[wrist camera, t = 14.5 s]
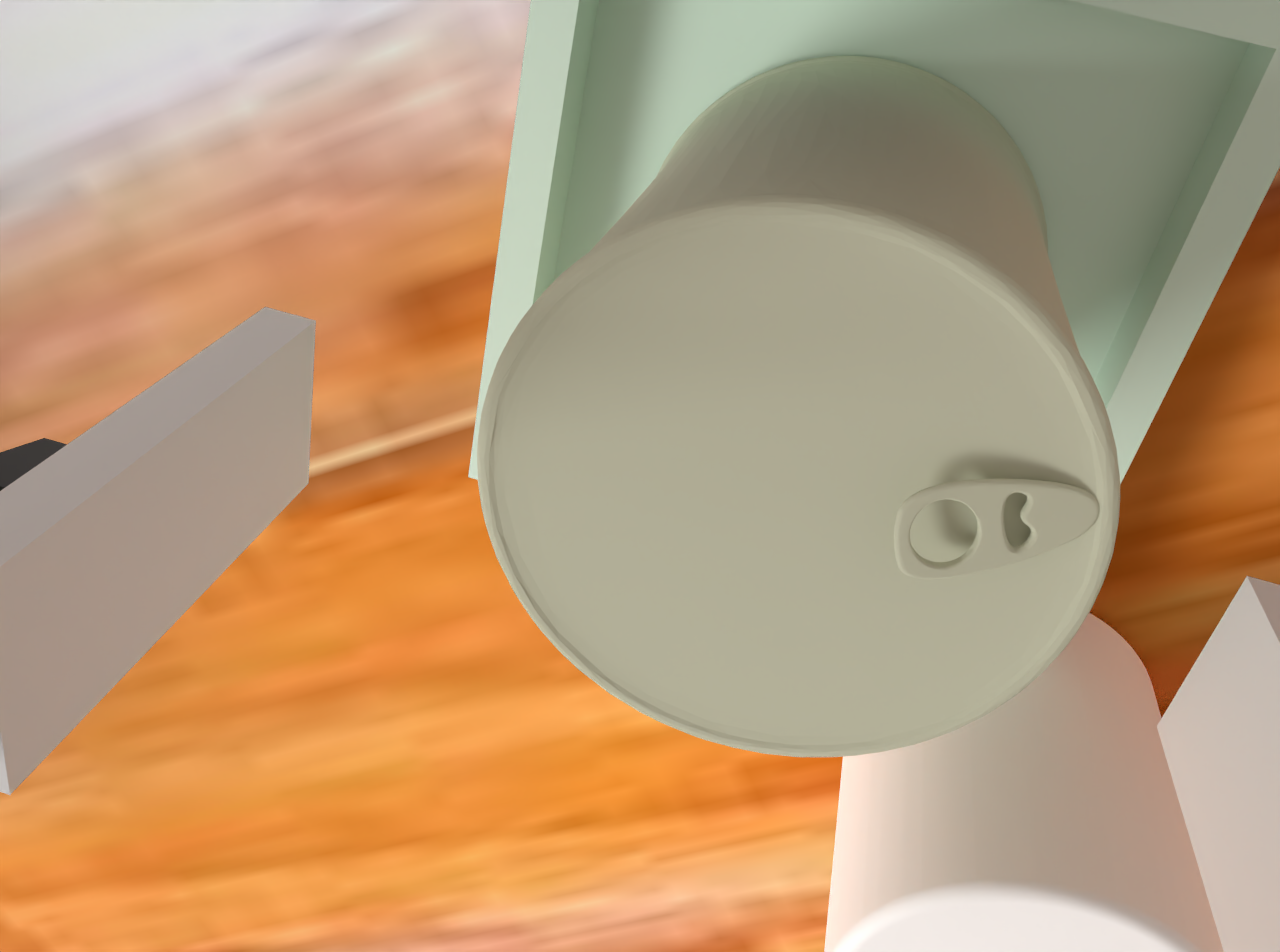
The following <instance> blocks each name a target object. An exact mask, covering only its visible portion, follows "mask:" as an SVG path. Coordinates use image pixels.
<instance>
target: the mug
mask: <svg viewBox="0 0 1280 952" xmlns="http://www.w3.org/2000/svg"><path fill="white" fill-rule="evenodd" d="M1160 720H1161V715H1160V711H1159V707H1158V704H1157V700H1156V696H1155V693H1154V689H1153V686H1152V683H1151V680H1150V677H1149V675H1148V672H1147V670H1146V668H1145V666H1144V665H1143V663H1142V661H1141V660H1140V658H1139V656H1138V655H1137V654H1136V652H1135V651H1134V650H1133V648H1132V647H1131V646H1130V645H1129V644H1128V643H1127V642H1126V640H1125V639H1124V638H1123V637H1122V636H1121V635H1119V634H1118V633H1117V632H1116V631H1115V630H1114V629H1113V628H1111V627H1110V626H1109V625H1107V624H1106V623H1105V622H1103V621H1102V620H1100V619H1099V618H1097V617H1095V616H1094V615H1092V614H1091V613H1089V614H1088V615H1087V617H1086V618H1085V620H1084V622H1083V623H1082V625H1081V627H1080V628H1079V630H1078V632H1077V633H1076V635H1075V636H1074V637H1073V639H1072V640H1071V641H1070V643H1069V644H1068V645H1067V646H1066V648H1065V649H1064V650H1063V651H1062V652H1061V653H1060V655H1059V656H1058V657H1057V658H1056V659H1055V660H1054V661H1053V662H1052V663H1051V664H1050V665H1049V666H1048V668H1047V669H1046V670H1045V671H1044V672H1043V673H1042V674H1041V675H1039V676H1038V677H1037V678H1036V679H1035V680H1034V681H1033V682H1031V683H1030V684H1029V685H1028V686H1027V687H1026V688H1025V689H1023V690H1022V691H1021V692H1020V693H1018V694H1017V695H1016V696H1014V697H1013V698H1011V699H1010V700H1008V701H1007V702H1005V703H1004V704H1002V705H1001V706H999V707H998V708H996V709H995V710H993V711H991V712H990V713H988V714H987V715H985V716H983V717H981V718H979V719H977V720H975V721H973V722H971V723H969V724H967V725H965V726H963V727H961V728H959V729H957V730H954V731H952V732H949V733H947V734H944V735H941V736H939V737H936V738H933V739H930V740H927V741H924V742H921V743H918V744H915V745H911V746H906V747H902V748H897V749H893V750H888V751H884V752H878V753H871V754H864V755H857V756H843V763H842V773H841V784H840V794H839V805H838V815H837V825H836V836H835V846H834V857H833V867H832V877H831V888H830V898H829V909H828V919H827V929H826V940H825V950H824V952H1224V951H1223V948H1222V944H1221V941H1220V937H1219V934H1218V931H1217V927H1216V924H1215V921H1214V917H1213V914H1212V911H1211V907H1210V904H1209V901H1208V897H1207V894H1206V890H1205V887H1204V884H1203V880H1202V877H1201V874H1200V870H1199V867H1198V864H1197V860H1196V857H1195V853H1194V850H1193V847H1192V843H1191V840H1190V837H1189V833H1188V830H1187V827H1186V823H1185V820H1184V817H1183V813H1182V810H1181V806H1180V803H1179V800H1178V796H1177V793H1176V790H1175V786H1174V783H1173V780H1172V776H1171V773H1170V769H1169V766H1168V763H1167V759H1166V756H1165V753H1164V749H1163V746H1162V743H1161V739H1160V736H1159V733H1158V729H1157V725H1158V723H1159V722H1160Z"/></svg>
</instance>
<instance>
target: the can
mask: <svg viewBox="0 0 1280 952" xmlns="http://www.w3.org/2000/svg"><path fill="white" fill-rule="evenodd" d="M477 469H478V485H479V493H480V500H481V507H482V511H483V515H484V520H485V523H486V527H487V530H488V534H489V537H490V540H491V542H492V545H493V548H494V551H495V554H496V557H497V559H498V561H499V563H500V565H501V567H502V569H503V571H504V573H505V575H506V577H507V579H508V581H509V583H510V585H511V587H512V589H513V591H514V593H515V594H516V596H517V597H518V599H519V600H520V602H521V603H522V605H523V606H524V608H525V609H526V611H527V612H528V614H529V615H530V617H531V618H532V620H533V621H534V622H535V624H536V625H537V626H538V627H539V629H540V630H541V631H542V632H543V633H544V635H545V636H546V637H547V638H548V639H549V640H550V641H551V643H552V644H553V645H554V646H555V647H556V648H557V649H558V650H559V651H560V652H561V653H562V654H563V655H564V656H565V657H566V658H567V659H568V660H569V661H570V662H571V663H572V664H573V665H575V666H576V667H577V668H578V669H579V670H580V671H581V672H583V673H584V674H585V675H587V676H588V677H589V678H590V679H592V680H593V681H594V682H596V683H597V684H598V685H599V686H601V687H602V688H603V689H605V690H606V691H607V692H608V693H610V694H611V695H613V696H615V697H616V698H618V699H620V700H621V701H623V702H624V703H626V704H628V705H629V706H631V707H633V708H634V709H636V710H638V711H639V712H641V713H643V714H645V715H647V716H649V717H651V718H653V719H655V720H657V721H659V722H661V723H663V724H666V725H668V726H671V727H673V728H675V729H678V730H680V731H683V732H685V733H687V734H690V735H693V736H696V737H698V738H701V739H704V740H708V741H711V742H715V743H719V744H722V745H726V746H730V747H734V748H738V749H743V750H749V751H754V752H759V753H764V754H773V755H783V756H792V757H843V756H857V755H864V754H871V753H878V752H884V751H888V750H893V749H897V748H902V747H906V746H911V745H915V744H918V743H921V742H924V741H927V740H930V739H933V738H936V737H939V736H941V735H944V734H947V733H949V732H952V731H954V730H957V729H959V728H961V727H963V726H965V725H967V724H969V723H971V722H973V721H975V720H977V719H979V718H981V717H983V716H985V715H987V714H988V713H990V712H991V711H993V710H995V709H996V708H998V707H999V706H1001V705H1002V704H1004V703H1005V702H1007V701H1008V700H1010V699H1011V698H1013V697H1014V696H1016V695H1017V694H1018V693H1020V692H1021V691H1022V690H1023V689H1025V688H1026V687H1027V686H1028V685H1029V684H1030V683H1031V682H1033V681H1034V680H1035V679H1036V678H1037V677H1038V676H1039V675H1041V674H1042V673H1043V672H1044V671H1045V670H1046V669H1047V668H1048V666H1049V665H1050V664H1051V663H1052V662H1053V661H1054V660H1055V659H1056V658H1057V657H1058V656H1059V655H1060V653H1061V652H1062V651H1063V650H1064V649H1065V648H1066V646H1067V645H1068V644H1069V643H1070V641H1071V640H1072V639H1073V637H1074V636H1075V635H1076V633H1077V632H1078V630H1079V628H1080V627H1081V625H1082V623H1083V622H1084V620H1085V618H1086V617H1087V615H1088V614H1089V612H1090V610H1091V609H1092V607H1093V605H1094V602H1095V600H1096V598H1097V596H1098V594H1099V591H1100V589H1101V587H1102V585H1103V582H1104V579H1105V576H1106V573H1107V570H1108V567H1109V564H1110V561H1111V558H1112V555H1113V551H1114V546H1115V540H1116V534H1117V528H1118V523H1119V509H1120V474H1119V467H1118V459H1117V449H1116V445H1115V440H1114V436H1113V432H1112V428H1111V424H1110V420H1109V417H1108V414H1107V411H1106V408H1105V405H1104V402H1103V400H1102V397H1101V395H1100V393H1099V391H1098V389H1097V386H1096V384H1095V382H1094V380H1093V378H1092V376H1091V374H1090V372H1089V370H1088V368H1087V366H1086V364H1085V362H1084V360H1083V359H1082V357H1081V356H1080V353H1079V350H1078V347H1077V344H1076V341H1075V338H1074V335H1073V333H1072V330H1071V327H1070V324H1069V321H1068V318H1067V315H1066V312H1065V309H1064V306H1063V303H1062V300H1061V297H1060V294H1059V290H1058V287H1057V284H1056V280H1055V277H1054V274H1053V270H1052V267H1051V263H1050V260H1049V257H1048V239H1047V225H1046V220H1045V214H1044V209H1043V204H1042V201H1041V197H1040V194H1039V190H1038V187H1037V185H1036V182H1035V179H1034V177H1033V174H1032V172H1031V170H1030V168H1029V166H1028V164H1027V162H1026V160H1025V159H1024V157H1023V155H1022V153H1021V151H1020V149H1019V148H1018V146H1017V145H1016V144H1015V142H1014V141H1013V139H1012V138H1011V137H1010V135H1009V134H1008V132H1007V131H1006V130H1005V128H1004V127H1003V126H1002V125H1001V124H1000V123H999V122H998V121H997V119H996V118H995V117H994V116H993V115H992V114H991V113H989V112H988V111H987V110H986V109H985V108H984V107H983V106H982V105H981V104H980V103H978V102H977V101H976V100H974V99H973V98H972V97H971V96H969V95H968V94H967V93H965V92H964V91H962V90H961V89H959V88H958V87H956V86H955V85H953V84H951V83H950V82H948V81H946V80H944V79H942V78H940V77H938V76H936V75H933V74H931V73H929V72H926V71H924V70H922V69H919V68H916V67H913V66H910V65H907V64H904V63H900V62H896V61H892V60H887V59H882V58H874V57H866V56H828V57H820V58H812V59H807V60H802V61H797V62H793V63H790V64H786V65H783V66H780V67H777V68H774V69H771V70H769V71H766V72H764V73H762V74H759V75H757V76H755V77H753V78H751V79H749V80H747V81H745V82H744V83H742V84H740V85H738V86H737V87H735V88H733V89H732V90H730V91H729V92H727V93H726V94H724V95H723V96H722V97H720V98H719V99H718V100H716V101H715V102H714V103H713V104H711V105H710V106H709V107H708V108H707V109H706V110H704V111H703V112H702V113H701V114H700V115H699V116H698V117H697V118H696V119H695V120H694V121H693V122H692V123H691V124H690V126H689V127H688V128H687V129H686V130H685V132H684V133H683V134H682V135H681V137H680V138H679V139H678V140H677V142H676V143H675V145H674V146H673V148H672V149H671V151H670V152H669V154H668V156H667V157H666V159H665V160H664V162H663V164H662V166H661V168H660V170H659V172H658V174H657V176H656V178H655V179H654V180H653V181H652V183H651V184H650V185H649V186H648V187H647V188H646V190H645V191H644V192H643V193H642V194H641V195H640V196H639V197H638V199H637V200H636V201H635V202H634V203H633V204H632V205H631V207H630V208H629V209H628V210H627V211H626V212H625V213H624V215H623V216H622V217H621V218H620V219H619V220H618V221H617V222H616V223H615V224H614V226H613V227H612V228H611V229H610V230H609V231H608V232H607V233H606V234H605V235H604V236H603V237H602V239H601V240H600V241H599V242H598V243H597V244H596V245H595V246H594V247H593V248H592V249H591V250H590V252H589V253H587V254H586V255H584V256H583V257H581V258H580V259H579V260H578V261H576V262H575V263H574V264H573V265H571V266H570V267H569V268H568V269H567V270H565V271H564V272H563V273H562V274H561V275H560V276H559V277H558V278H557V279H556V280H555V281H554V282H553V283H552V284H551V285H550V286H549V287H548V288H547V289H546V290H545V291H544V292H543V293H542V294H541V296H540V297H539V298H538V299H537V300H536V301H535V303H534V304H533V305H532V306H531V308H530V309H529V310H528V312H527V313H526V314H525V315H524V317H523V318H522V319H521V320H520V322H519V324H518V325H517V327H516V328H515V330H514V332H513V333H512V335H511V336H510V338H509V340H508V342H507V344H506V346H505V347H504V349H503V351H502V353H501V355H500V357H499V359H498V362H497V364H496V367H495V369H494V372H493V375H492V378H491V381H490V384H489V386H488V390H487V394H486V398H485V401H484V405H483V409H482V413H481V420H480V428H479V435H478V446H477Z"/></svg>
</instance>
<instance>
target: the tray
mask: <svg viewBox="0 0 1280 952" xmlns="http://www.w3.org/2000/svg"><path fill="white" fill-rule="evenodd" d="M828 56H866V57H874V58H882V59H887V60H892V61H896V62H900V63H904V64H907V65H910V66H913V67H916V68H919V69H922V70H924V71H926V72H929V73H931V74H933V75H936V76H938V77H940V78H942V79H944V80H946V81H948V82H950V83H951V84H953V85H955V86H956V87H958V88H959V89H961V90H962V91H964V92H965V93H967V94H968V95H969V96H971V97H972V98H973V99H974V100H976V101H977V102H978V103H980V104H981V105H982V106H983V107H984V108H985V109H986V110H987V111H988V112H989V113H991V114H992V115H993V116H994V117H995V118H996V119H997V121H998V122H999V123H1000V124H1001V125H1002V126H1003V127H1004V128H1005V130H1006V131H1007V132H1008V134H1009V135H1010V137H1011V138H1012V139H1013V141H1014V142H1015V144H1016V145H1017V146H1018V148H1019V149H1020V151H1021V153H1022V155H1023V157H1024V159H1025V160H1026V162H1027V164H1028V166H1029V168H1030V170H1031V172H1032V174H1033V177H1034V179H1035V182H1036V185H1037V187H1038V190H1039V194H1040V197H1041V201H1042V204H1043V209H1044V214H1045V220H1046V225H1047V239H1048V257H1049V260H1050V263H1051V267H1052V270H1053V274H1054V277H1055V280H1056V284H1057V287H1058V290H1059V294H1060V297H1061V300H1062V303H1063V306H1064V309H1065V312H1066V315H1067V318H1068V321H1069V324H1070V327H1071V330H1072V333H1073V335H1074V338H1075V341H1076V344H1077V347H1078V350H1079V353H1080V356H1081V357H1082V359H1083V360H1084V362H1085V364H1086V366H1087V368H1088V370H1089V372H1090V374H1091V376H1092V378H1093V380H1094V382H1095V384H1096V386H1097V389H1098V391H1099V393H1100V395H1101V397H1102V400H1103V402H1104V405H1105V408H1106V411H1107V414H1108V417H1109V420H1110V424H1111V428H1112V432H1113V436H1114V440H1115V445H1116V449H1117V459H1118V467H1119V474H1120V484H1121V482H1122V480H1123V478H1124V476H1125V474H1126V472H1127V470H1128V468H1129V466H1130V464H1131V462H1132V460H1133V458H1134V456H1135V454H1136V452H1137V450H1138V448H1139V446H1140V444H1141V442H1142V440H1143V438H1144V437H1145V435H1146V433H1147V431H1148V429H1149V427H1150V425H1151V423H1152V421H1153V419H1154V417H1155V415H1156V413H1157V411H1158V409H1159V407H1160V405H1161V403H1162V401H1163V399H1164V397H1165V395H1166V393H1167V391H1168V389H1169V387H1170V385H1171V383H1172V381H1173V379H1174V377H1175V375H1176V373H1177V371H1178V369H1179V367H1180V365H1181V363H1182V361H1183V359H1184V357H1185V355H1186V353H1187V351H1188V349H1189V347H1190V345H1191V343H1192V341H1193V339H1194V337H1195V335H1196V333H1197V331H1198V329H1199V327H1200V325H1201V323H1202V321H1203V319H1204V317H1205V315H1206V313H1207V311H1208V309H1209V307H1210V305H1211V303H1212V301H1213V299H1214V297H1215V295H1216V293H1217V291H1218V289H1219V287H1220V285H1221V283H1222V281H1223V279H1224V277H1225V275H1226V273H1227V271H1228V269H1229V267H1230V265H1231V263H1232V261H1233V259H1234V257H1235V255H1236V253H1237V251H1238V249H1239V247H1240V245H1241V243H1242V241H1243V239H1244V237H1245V235H1246V233H1247V231H1248V229H1249V227H1250V225H1251V223H1252V221H1253V219H1254V217H1255V215H1256V213H1257V211H1258V209H1259V207H1260V205H1261V203H1262V201H1263V199H1264V197H1265V195H1266V193H1267V191H1268V189H1269V187H1270V185H1271V183H1272V181H1273V179H1274V177H1275V175H1276V173H1277V171H1278V169H1279V167H1280V0H531V4H530V11H529V19H528V26H527V34H526V42H525V49H524V57H523V64H522V72H521V80H520V87H519V95H518V103H517V110H516V118H515V125H514V133H513V141H512V148H511V156H510V163H509V171H508V179H507V186H506V194H505V201H504V209H503V217H502V224H501V232H500V239H499V247H498V255H497V262H496V270H495V277H494V285H493V293H492V300H491V308H490V316H489V323H488V331H487V338H486V346H485V354H484V361H483V369H482V376H481V384H480V392H479V399H478V407H477V414H476V422H475V430H474V437H473V445H472V452H471V460H470V468H469V475H468V477H470V478H474V479H477V480H478V469H477V446H478V435H479V428H480V420H481V413H482V409H483V405H484V401H485V398H486V394H487V390H488V386H489V384H490V381H491V378H492V375H493V372H494V369H495V367H496V364H497V362H498V359H499V357H500V355H501V353H502V351H503V349H504V347H505V346H506V344H507V342H508V340H509V338H510V336H511V335H512V333H513V332H514V330H515V328H516V327H517V325H518V324H519V322H520V320H521V319H522V318H523V317H524V315H525V314H526V313H527V312H528V310H529V309H530V308H531V306H532V305H533V304H534V303H535V301H536V300H537V299H538V298H539V297H540V296H541V294H542V293H543V292H544V291H545V290H546V289H547V288H548V287H549V286H550V285H551V284H552V283H553V282H554V281H555V280H556V279H557V278H558V277H559V276H560V275H561V274H562V273H563V272H564V271H565V270H567V269H568V268H569V267H570V266H571V265H573V264H574V263H575V262H576V261H578V260H579V259H580V258H581V257H583V256H584V255H586V254H587V253H589V252H590V250H591V249H592V248H593V247H594V246H595V245H596V244H597V243H598V242H599V241H600V240H601V239H602V237H603V236H604V235H605V234H606V233H607V232H608V231H609V230H610V229H611V228H612V227H613V226H614V224H615V223H616V222H617V221H618V220H619V219H620V218H621V217H622V216H623V215H624V213H625V212H626V211H627V210H628V209H629V208H630V207H631V205H632V204H633V203H634V202H635V201H636V200H637V199H638V197H639V196H640V195H641V194H642V193H643V192H644V191H645V190H646V188H647V187H648V186H649V185H650V184H651V183H652V181H653V180H654V179H655V178H656V176H657V174H658V172H659V170H660V168H661V166H662V164H663V162H664V160H665V159H666V157H667V156H668V154H669V152H670V151H671V149H672V148H673V146H674V145H675V143H676V142H677V140H678V139H679V138H680V137H681V135H682V134H683V133H684V132H685V130H686V129H687V128H688V127H689V126H690V124H691V123H692V122H693V121H694V120H695V119H696V118H697V117H698V116H699V115H700V114H701V113H702V112H703V111H704V110H706V109H707V108H708V107H709V106H710V105H711V104H713V103H714V102H715V101H716V100H718V99H719V98H720V97H722V96H723V95H724V94H726V93H727V92H729V91H730V90H732V89H733V88H735V87H737V86H738V85H740V84H742V83H744V82H745V81H747V80H749V79H751V78H753V77H755V76H757V75H759V74H762V73H764V72H766V71H769V70H771V69H774V68H777V67H780V66H783V65H786V64H790V63H793V62H797V61H802V60H807V59H812V58H820V57H828Z"/></svg>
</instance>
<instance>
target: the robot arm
mask: <svg viewBox="0 0 1280 952" xmlns="http://www.w3.org/2000/svg"><path fill="white" fill-rule="evenodd" d="M315 326H316V321H315V320H311V319H308V318H304V317H300V316H297V315H293V314H289V313H286V312H282V311H278V310H275V309H271V308H268V307H264V308H263V309H261V310H260V311H259V312H257V313H256V314H254V315H253V316H251V317H250V318H248V319H247V320H246V321H244V322H243V323H241V324H240V325H238V326H237V327H236V328H234V329H233V330H231V331H230V332H228V333H227V334H225V335H224V336H223V337H221V338H220V339H218V340H217V341H215V342H214V343H213V344H211V345H210V346H208V347H207V348H205V349H204V350H202V351H201V352H200V353H198V354H197V355H195V356H194V357H192V358H191V359H190V360H188V361H187V362H185V363H184V364H182V365H181V366H179V367H178V368H177V369H175V370H174V371H172V372H171V373H169V374H168V375H167V376H165V377H164V378H162V379H161V380H159V381H158V382H156V383H155V384H154V385H152V386H151V387H149V388H148V389H146V390H145V391H143V392H142V393H141V394H139V395H138V396H136V397H135V398H133V399H132V400H131V401H129V402H128V403H126V404H125V405H123V406H122V407H120V408H119V409H118V410H116V411H115V412H113V413H112V414H110V415H109V416H108V417H106V418H105V419H103V420H102V421H100V422H99V423H97V424H96V425H95V426H93V427H92V428H90V429H89V430H87V431H86V432H85V433H83V434H82V435H80V436H79V437H77V438H76V439H74V440H73V441H72V442H70V443H69V444H63V443H60V442H56V441H53V440H49V439H46V438H43V439H40V440H37V441H34V442H31V443H28V444H25V445H22V446H19V447H16V448H13V449H10V450H7V451H4V452H1V453H0V792H3V793H6V794H9V795H10V794H11V793H12V792H13V791H14V790H15V789H16V788H17V787H18V786H19V785H20V784H21V783H22V782H23V781H24V780H25V779H26V778H27V777H28V776H29V775H30V774H31V772H32V771H33V770H34V769H35V768H36V767H37V766H38V765H39V764H40V763H41V762H42V761H43V760H44V759H45V758H46V757H47V756H48V755H49V754H50V753H51V752H52V751H53V750H54V748H55V747H56V746H57V745H58V744H59V743H60V742H61V741H62V740H63V739H64V738H65V737H66V736H67V735H68V734H69V733H70V732H71V731H72V730H73V729H74V728H75V727H76V725H77V724H78V723H79V722H80V721H81V720H82V719H83V718H84V717H85V716H86V715H87V714H88V713H89V712H90V711H91V710H92V709H93V708H94V707H95V706H96V705H97V704H98V703H99V701H100V700H101V699H102V698H103V697H104V696H105V695H106V694H107V693H108V692H109V691H110V690H111V689H112V688H113V687H114V686H115V685H116V684H117V683H118V682H119V681H120V680H121V679H122V677H123V676H124V675H125V674H126V673H127V672H128V671H129V670H130V669H131V668H132V667H133V666H134V665H135V664H136V663H137V662H138V661H139V660H140V659H141V658H142V657H143V656H144V654H145V653H146V652H147V651H148V650H149V649H150V648H151V647H152V646H153V645H154V644H155V643H156V642H157V641H158V640H159V639H160V638H161V637H162V636H163V635H164V634H165V633H166V632H167V630H168V629H169V628H170V627H171V626H172V625H173V624H174V623H175V622H176V621H177V620H178V619H179V618H180V617H181V616H182V615H183V614H184V613H185V612H186V611H187V610H188V609H189V608H190V606H191V605H192V604H193V603H194V602H195V601H196V600H197V599H198V598H199V597H200V596H201V595H202V594H203V593H204V592H205V591H206V590H207V589H208V588H209V587H210V586H211V585H212V583H213V582H214V581H215V580H216V579H217V578H218V577H219V576H220V575H221V574H222V573H223V572H224V571H225V570H226V569H227V568H228V567H229V566H230V565H231V564H232V563H233V562H234V561H235V559H236V558H237V557H238V556H239V555H240V554H241V553H242V552H243V551H244V550H245V549H246V548H247V547H248V546H249V545H250V544H251V543H252V542H253V541H254V540H255V539H256V538H257V537H258V535H259V534H260V533H261V532H262V531H263V530H264V529H265V528H266V527H267V526H268V525H269V524H270V523H271V522H272V521H273V520H274V519H275V518H276V517H277V516H278V515H279V514H280V512H281V511H282V510H283V509H284V508H285V507H286V506H287V505H288V504H289V503H290V502H291V501H292V500H293V499H294V498H295V497H296V496H297V495H298V494H299V493H300V492H301V491H302V490H303V488H304V487H305V486H306V485H307V484H308V482H309V460H310V437H311V415H312V393H313V371H314V349H315ZM1157 729H1158V733H1159V736H1160V739H1161V743H1162V746H1163V749H1164V753H1165V756H1166V759H1167V763H1168V766H1169V769H1170V773H1171V776H1172V780H1173V783H1174V786H1175V790H1176V793H1177V796H1178V800H1179V803H1180V806H1181V810H1182V813H1183V817H1184V820H1185V823H1186V827H1187V830H1188V833H1189V837H1190V840H1191V843H1192V847H1193V850H1194V853H1195V857H1196V860H1197V864H1198V867H1199V870H1200V874H1201V877H1202V880H1203V884H1204V887H1205V890H1206V894H1207V897H1208V901H1209V904H1210V907H1211V911H1212V914H1213V917H1214V921H1215V924H1216V927H1217V931H1218V934H1219V937H1220V941H1221V944H1222V948H1223V951H1224V952H1280V585H1278V584H1275V583H1271V582H1267V581H1264V580H1260V579H1256V578H1253V577H1249V576H1247V577H1246V578H1245V580H1244V582H1243V583H1242V585H1241V587H1240V588H1239V590H1238V592H1237V593H1236V595H1235V597H1234V598H1233V600H1232V602H1231V603H1230V605H1229V607H1228V608H1227V610H1226V612H1225V613H1224V615H1223V617H1222V618H1221V620H1220V622H1219V623H1218V625H1217V627H1216V628H1215V630H1214V632H1213V633H1212V635H1211V637H1210V638H1209V640H1208V642H1207V643H1206V645H1205V647H1204V648H1203V650H1202V652H1201V653H1200V655H1199V657H1198V658H1197V660H1196V662H1195V663H1194V665H1193V667H1192V668H1191V670H1190V672H1189V673H1188V675H1187V677H1186V678H1185V680H1184V682H1183V683H1182V685H1181V687H1180V688H1179V690H1178V692H1177V693H1176V695H1175V697H1174V698H1173V700H1172V702H1171V703H1170V705H1169V707H1168V708H1167V710H1166V712H1165V713H1164V715H1163V717H1162V718H1161V720H1160V722H1159V723H1158V725H1157Z"/></svg>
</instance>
